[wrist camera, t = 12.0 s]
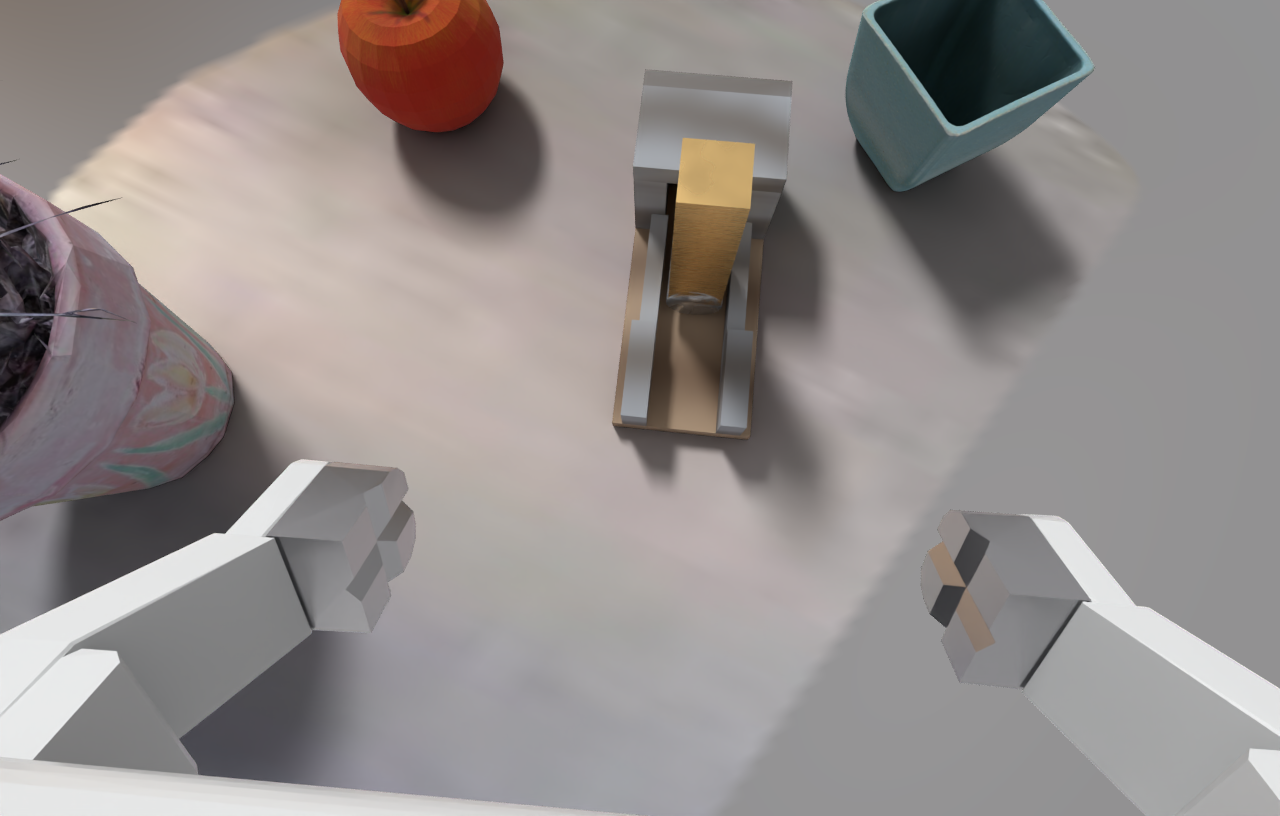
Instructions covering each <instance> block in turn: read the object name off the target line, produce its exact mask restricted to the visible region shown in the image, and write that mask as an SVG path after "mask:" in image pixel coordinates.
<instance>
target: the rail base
mask: <svg viewBox="0 0 1280 816" xmlns="http://www.w3.org/2000/svg"><path fill="white" fill-rule="evenodd" d="M791 97H792V81H783V80H771V79H758V78H746V77H733V76H721V75H708V74H696V73H683V72H671V71H658V70H646V69H645V75H644V83H643V91H642V99H641V107H640V115H639V123H638V131H637V139H636V147H635V155H634V163H633V177H634V201H635V225H636V229H635V237H634V246H633V254H632V262H631V271H630V279H629V287H628V296H627V304H626V312H625V320H624V329H623V337H622V345H621V354H620V362H619V370H618V379H617V387H616V395H615V404H614V412H613V420H612V424H613V426H619V427H629V428H638V429H648V430H658V431H667V432H677V433H687V434H697V435H706V436H716V437H726V438H735V439H745V440H748V439H749V438H750V433H751V418H752V403H753V388H754V373H755V358H756V344H757V329H758V314H759V299H760V284H761V269H762V255H763V240H764V237H765V234H766V232H767V229H768V227H769V224H770V221H771V219H772V216H773V214H774V211H775V208H776V206H777V203H778V201H779V198H780V195H781V193H782V190H783V188H784V185H785V182H786V180H787V164H788V147H789V130H790V113H791ZM683 138H693V139H705V140H717V141H729V142H741V143H752V144H755V152H754V165H753V179H752V193H751V206H750V211H749V215H748V218H747V221H746V224H745V228H744V231H743V234H742V237H741V241H740V244H739V247H738V250H737V254H736V257H735V260H734V263H733V267H732V270H731V273H730V276H729V280H728V283H727V286H726V289H725V292H724V296H723V300H722V308H721V309H720V310H719V311H717V312H715V313H712V314H706V315H691V314H684V313H680V312H677V311H675V310H673V309H671V308H670V307H669V306H668V305H667V304H666V297H667V288H668V278H669V269H670V259H671V250H672V240H673V231H674V220H675V207H676V197H677V187H678V178H679V168H680V159H681V149H682V139H683Z"/></svg>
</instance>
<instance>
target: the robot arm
mask: <svg viewBox="0 0 1280 816" xmlns="http://www.w3.org/2000/svg"><path fill="white" fill-rule="evenodd" d="M407 491H408V485H407V482H406V478H405V474H404V472H403V471H401V470H400V469H398V468H393V467H382V466H372V465H362V464H352V463H342V462H326V461H316V460H305V459H301V460H298V461H296V462H293V463H291V464H290V465H289V466H288V467H287V468H286V469H285V470H284V472H283V473H282V474H281V475H280V476H279V477H278V478H277V479H276V480H275V481H274V482H273V483H272V484H271V485H270V486H269V488H268V489H267V490H266V491H265V492H264V493H263V494H262V495H261V496H260V497H259V498H258V499H257V500H256V501H255V502H254V504H253V505H252V506H251V507H250V508H249V509H248V510H247V511H246V512H245V513H244V514H243V515H242V516H241V517H240V518H239V520H238V521H237V522H236V523H235V524H234V525H233V526H232V527H231V528H230V529H229V530H228V531H227V532H226V533H225V534H219V533H213V534H211V535H209V536H207V537H205V538H203V539H201V540H198V541H196V542H194V543H192V544H190V545H188V546H186V547H184V548H182V549H180V550H177V551H175V552H173V553H171V554H169V555H167V556H165V557H163V558H161V559H158V560H156V561H154V562H152V563H150V564H148V565H146V566H144V567H142V568H139V569H137V570H135V571H133V572H131V573H129V574H127V575H125V576H123V577H120V578H118V579H116V580H114V581H112V582H110V583H108V584H106V585H104V586H102V587H99V588H97V589H95V590H93V591H91V592H89V593H87V594H85V595H83V596H80V597H78V598H76V599H74V600H72V601H70V602H68V603H66V604H64V605H61V606H59V607H57V608H55V609H53V610H51V611H49V612H47V613H45V614H42V615H40V616H38V617H36V618H34V619H32V620H30V621H28V622H26V623H24V624H21V625H19V626H17V627H15V628H13V629H11V630H9V631H7V632H5V633H2V634H0V816H645V815H634V814H623V813H612V812H601V811H590V810H579V809H568V808H557V807H546V806H535V805H524V804H513V803H502V802H491V801H480V800H469V799H458V798H447V797H436V796H425V795H414V794H403V793H392V792H381V791H370V790H359V789H347V788H336V787H325V786H314V785H303V784H292V783H281V782H270V781H259V780H248V779H237V778H226V777H215V776H204V775H199V774H198V768H197V764H196V762H195V761H194V760H193V758H192V757H191V755H190V754H189V753H188V751H187V750H186V748H185V747H184V745H183V744H182V743H181V741H180V740H179V739H180V738H181V737H182V736H184V735H185V734H186V733H187V732H189V731H190V730H191V729H192V728H194V727H195V726H196V725H197V724H199V723H200V722H201V721H202V720H204V719H205V718H206V717H208V716H209V715H210V714H211V713H213V712H214V711H215V710H216V709H218V708H219V707H220V706H221V705H223V704H224V703H225V702H226V701H228V700H229V699H230V698H231V697H233V696H234V695H235V694H236V693H238V692H239V691H240V690H241V689H243V688H244V687H245V686H247V685H248V684H249V683H250V682H252V681H253V680H254V679H255V678H257V677H258V676H259V675H260V674H262V673H263V672H264V671H265V670H267V669H268V668H269V667H270V666H272V665H273V664H274V663H275V662H277V661H278V660H279V659H280V658H282V657H283V656H284V655H286V654H287V653H288V652H289V651H291V650H292V649H293V648H294V647H296V646H297V645H298V644H299V643H301V642H302V641H303V640H304V639H306V638H307V637H308V636H309V635H311V634H312V631H311V630H321V631H339V632H358V633H372V631H373V629H374V627H375V625H376V623H377V621H378V619H379V618H380V616H381V614H382V612H383V610H384V608H385V606H386V604H387V603H388V601H389V599H390V597H391V593H390V589H389V585H388V582H389V581H391V580H392V579H394V578H395V577H397V576H398V575H400V574H401V573H403V572H404V570H405V568H406V566H407V564H408V562H409V560H410V558H411V556H412V551H413V547H414V543H415V539H416V522H415V517H414V512H413V511H412V510H411V509H410V508H409V507H408V506H407V505H406V504H405V503H404V502H403V501H402V499H403V498H404V496H405V494H406V493H407ZM937 530H938V532H939V534H940V536H941V538H942V540H943V541H942V542H941V543H939V544H938V545H936V546H935V547H933V548H932V549H930V550H929V551H928V552H927V554H926V557H925V560H924V562H923V565H922V568H921V589H922V594H923V599H924V601H925V604H926V606H927V609H928V611H929V614H930V615H931V616H933V617H934V618H935V619H936V620H937V621H938V622H940V623H941V624H942V625H943V626H945V627H946V629H945V632H944V634H943V637H942V639H941V642H942V644H943V646H944V648H945V650H946V653H947V655H948V658H949V660H950V662H951V664H952V666H953V669H954V671H955V673H956V676H957V678H958V680H959V682H961V683H970V684H978V685H987V686H997V687H1006V688H1015V689H1023V691H1022V693H1023V694H1024V695H1025V696H1026V697H1027V698H1028V699H1029V700H1030V701H1031V702H1032V703H1033V704H1034V705H1035V706H1036V707H1037V708H1038V709H1039V710H1040V711H1041V712H1042V713H1043V714H1044V715H1045V716H1046V717H1047V718H1048V719H1049V720H1050V721H1051V722H1052V723H1053V724H1054V725H1055V726H1056V727H1057V728H1058V729H1059V730H1060V731H1061V732H1062V733H1063V734H1064V735H1065V736H1066V737H1067V738H1068V739H1069V740H1070V741H1071V742H1072V743H1073V744H1074V745H1075V746H1076V747H1077V748H1078V749H1079V750H1080V751H1081V752H1082V753H1083V754H1084V755H1085V756H1086V757H1087V758H1088V759H1089V760H1090V761H1091V762H1092V763H1093V764H1094V765H1095V766H1096V767H1097V768H1098V769H1099V770H1100V771H1101V772H1102V773H1103V774H1104V775H1105V776H1106V777H1107V778H1108V779H1109V780H1110V781H1111V782H1112V783H1113V784H1114V785H1115V786H1116V787H1117V788H1118V789H1119V790H1120V791H1121V792H1122V793H1123V794H1124V795H1125V796H1126V797H1127V798H1128V799H1129V800H1130V801H1131V802H1132V803H1134V805H1135V806H1136V807H1137V808H1138V809H1139V810H1140V811H1141V812H1142V813H1143V814H1144V815H1145V816H1280V688H1278V687H1276V686H1275V685H1273V684H1271V683H1270V682H1268V681H1267V680H1265V679H1263V678H1262V677H1260V676H1258V675H1257V674H1255V673H1254V672H1252V671H1250V670H1249V669H1247V668H1246V667H1244V666H1242V665H1241V664H1239V663H1238V662H1236V661H1234V660H1233V659H1231V658H1229V657H1228V656H1226V655H1225V654H1223V653H1221V652H1220V651H1218V650H1217V649H1215V648H1213V647H1212V646H1210V645H1208V644H1207V643H1205V642H1204V641H1202V640H1200V639H1199V638H1197V637H1195V636H1194V635H1192V634H1190V633H1189V632H1187V631H1186V630H1184V629H1183V628H1181V627H1179V626H1178V625H1176V624H1175V623H1173V622H1171V621H1170V620H1168V619H1166V618H1165V617H1163V616H1161V615H1160V614H1158V613H1157V612H1155V611H1153V610H1152V609H1150V608H1149V607H1141V606H1136V605H1135V604H1134V603H1133V602H1132V600H1131V599H1130V598H1129V597H1128V595H1127V594H1126V593H1125V592H1124V590H1123V589H1122V588H1121V587H1120V586H1119V584H1118V583H1117V582H1116V581H1115V580H1114V578H1113V577H1112V576H1111V574H1110V573H1109V572H1108V571H1107V570H1106V568H1105V567H1104V566H1103V565H1102V563H1101V562H1100V561H1099V560H1098V558H1097V557H1096V556H1095V555H1094V554H1093V552H1092V551H1091V550H1090V549H1089V547H1088V546H1087V545H1086V544H1085V542H1084V541H1083V540H1082V539H1081V538H1080V536H1079V535H1078V534H1077V532H1076V531H1075V530H1074V529H1073V528H1072V527H1071V525H1070V524H1069V523H1068V522H1067V521H1065V520H1063V519H1062V518H1060V517H1058V516H1049V515H1030V514H1020V515H1016V514H1003V513H989V512H974V511H960V510H950V511H949V512H948V513H946V514H945V515H944V516H943V518H942V520H941V522H940V524H939V526H938V529H937Z"/></svg>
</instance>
